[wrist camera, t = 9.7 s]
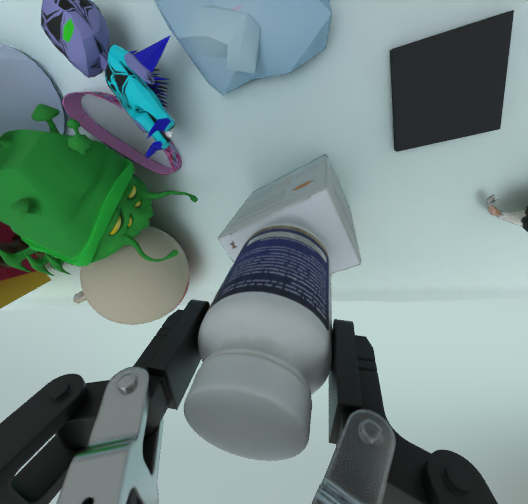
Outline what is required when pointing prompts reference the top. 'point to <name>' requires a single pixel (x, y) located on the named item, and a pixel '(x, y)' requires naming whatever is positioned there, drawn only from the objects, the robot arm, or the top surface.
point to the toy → (17, 274)
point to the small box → (300, 213)
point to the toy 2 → (137, 280)
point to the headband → (77, 113)
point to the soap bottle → (25, 93)
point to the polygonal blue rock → (247, 36)
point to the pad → (450, 83)
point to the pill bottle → (265, 346)
